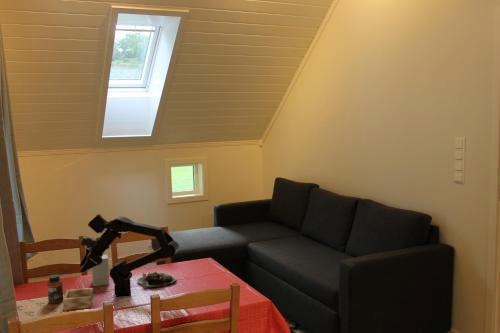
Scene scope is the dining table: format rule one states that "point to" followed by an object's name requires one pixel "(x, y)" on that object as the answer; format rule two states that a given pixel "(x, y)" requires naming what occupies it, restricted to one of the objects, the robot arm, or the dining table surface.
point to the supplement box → (101, 272)
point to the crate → (78, 298)
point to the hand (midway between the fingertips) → (80, 268)
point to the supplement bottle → (55, 289)
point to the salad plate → (156, 280)
